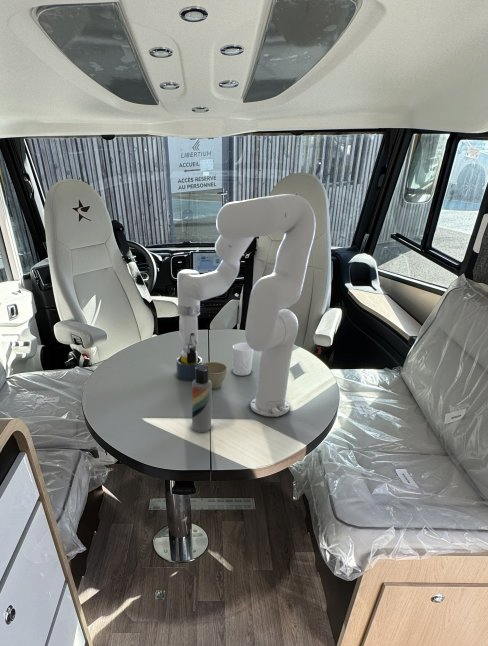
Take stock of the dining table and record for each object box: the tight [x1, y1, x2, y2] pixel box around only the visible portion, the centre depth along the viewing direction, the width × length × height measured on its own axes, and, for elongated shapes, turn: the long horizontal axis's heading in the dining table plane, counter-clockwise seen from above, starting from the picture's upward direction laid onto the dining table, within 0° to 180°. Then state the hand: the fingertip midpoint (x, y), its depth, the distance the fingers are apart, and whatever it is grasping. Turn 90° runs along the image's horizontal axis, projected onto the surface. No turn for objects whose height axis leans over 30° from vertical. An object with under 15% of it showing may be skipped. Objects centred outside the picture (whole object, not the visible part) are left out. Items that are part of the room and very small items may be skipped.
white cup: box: [232, 342, 255, 377], centre depth 165 cm, size 8×8×10 cm
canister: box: [175, 356, 203, 381], centre depth 164 cm, size 9×9×6 cm
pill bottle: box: [180, 343, 199, 365], centre depth 162 cm, size 6×6×11 cm
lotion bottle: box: [191, 363, 213, 433], centre depth 129 cm, size 6×6×20 cm
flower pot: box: [202, 361, 228, 390], centre depth 156 cm, size 10×10×7 cm
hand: (189, 358), depth 162 cm, fingers closed on pill bottle, 6 cm apart
